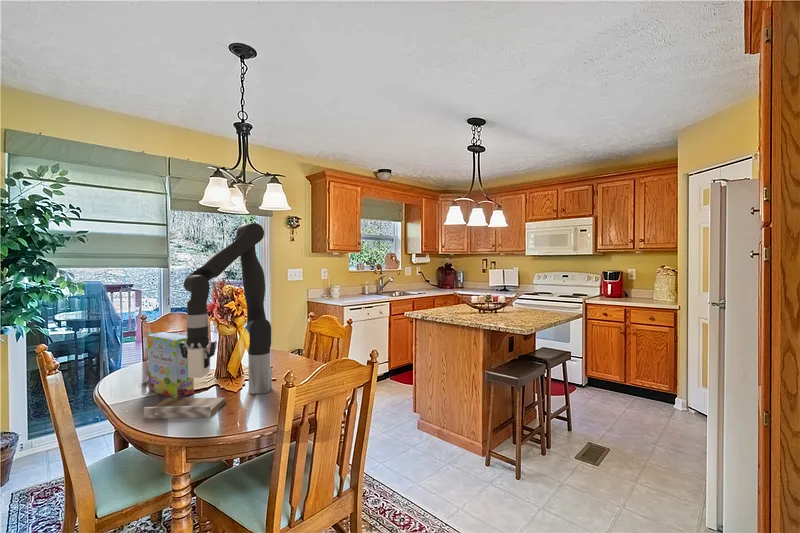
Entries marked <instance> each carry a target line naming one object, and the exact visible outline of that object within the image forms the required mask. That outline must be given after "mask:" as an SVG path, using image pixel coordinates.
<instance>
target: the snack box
mask: <svg viewBox="0 0 800 533" xmlns="http://www.w3.org/2000/svg"><path fill="white" fill-rule="evenodd" d="M187 339H188V338H187V335H185V334H179V333H172V332H166V331H161V332H157V333H152V334H147V335H146V341H147V342H146V344H147V349H148V350H147V362H148V375H149V377H148V390H149V392H154V393H156V394H160V395H162V396H166V397H170V398H186V397H187V396H191V395H195V385H194V384H195V383H194V379H195V378H188V359H187V358H183V357H182V354H181V350H180V346H179V344H180V343H182V342H187ZM186 348H187V351H188V349H190V347H189V346H188V345H187V347H186Z"/></svg>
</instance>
